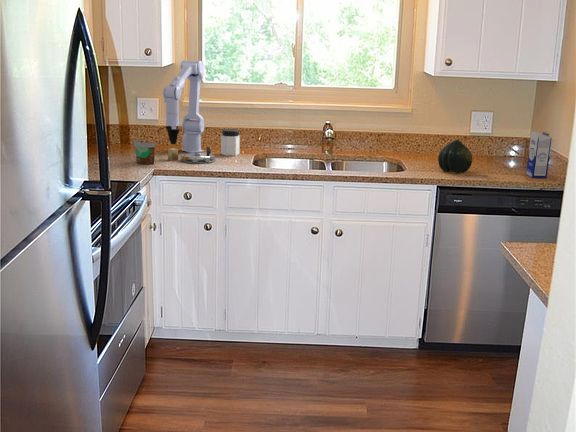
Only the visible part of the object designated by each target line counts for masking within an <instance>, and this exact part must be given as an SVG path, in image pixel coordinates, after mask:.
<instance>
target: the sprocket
mask: <svg viewBox="0 0 576 432" xmlns="http://www.w3.org/2000/svg"><path fill="white" fill-rule="evenodd" d="M181 159H183V160H184V161H193V162H198V161H205V162H207V161H210V160H214V159H215V160H216V158H215V155H213V153H212V147H211V146H206V153H205V152H195V153H190V152H186V154H183V153H182V154H180V160H181Z"/></svg>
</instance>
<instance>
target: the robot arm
mask: <svg viewBox="0 0 576 432" xmlns="http://www.w3.org/2000/svg"><path fill="white" fill-rule="evenodd" d="M179 66H180V71H179V72H178V75H177V76H175V77H173V79H172V80H171V82H170V84H169V85H167V86H166V87H164V88H163V92H162V95H163V99H164V103H165V129H166V132H167V136H168V139H169V142H170V144H171V145H177V141H178V135H179V133H180V131H181V130H180V129H179V125H181V128H182V131H183V132H184V133H183V135H182V139H181V140H182V148H181V151H184V152H186V153H198V152H201V153H205V150H203V149H202V148H201V147H202V140H201V139H202V138H201V135H202V134H203V133H204V131H205V120H204V119H205V118H204V117H203V116H202V115H201V114H200V113H199V111H200V108H199V107H200V95H201V94H200V93H201V80H202V79H204V75H205V74H204V72H205V71H204V70H205V65H204V63H203V61H201V60H186V59H183V60H182V61H181V62H180V65H179ZM186 79H188V80H189V93H188V94H189V97H188V113H187V114H186V115H184V116H183V119H182V122H180V121H179V120H180V114H179V113H180V112H179V107H180V106H179V100H180V99H181V94H182V92H183V91H182V90H183V89H184V87H185V84H186Z"/></svg>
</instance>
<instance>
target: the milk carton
mask: <svg viewBox="0 0 576 432" xmlns="http://www.w3.org/2000/svg"><path fill="white" fill-rule="evenodd" d="M529 140H530V142H529V148H528V157H527V164H526V171H525V175H526V176H527V177H530V178H532V179H547V178H548V172H549V165H550V157H551V150H552V143H553V137H551V136H550V133H548V132H545V131H542V133H539V132H537V131H533V130H531V134H530V139H529Z"/></svg>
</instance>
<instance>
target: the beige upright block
mask: <svg viewBox="0 0 576 432" xmlns="http://www.w3.org/2000/svg"><path fill="white" fill-rule="evenodd" d="M167 160H168V161H171V162H172V161H173V162H174V161H178V160H179V149H178V148H174V147H173V148H167Z"/></svg>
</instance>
